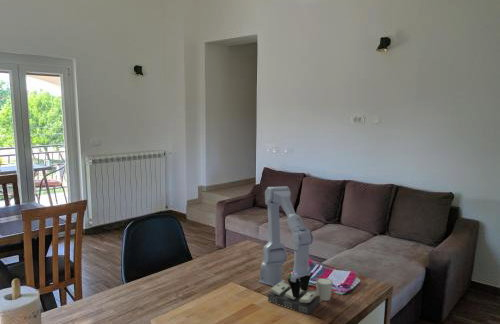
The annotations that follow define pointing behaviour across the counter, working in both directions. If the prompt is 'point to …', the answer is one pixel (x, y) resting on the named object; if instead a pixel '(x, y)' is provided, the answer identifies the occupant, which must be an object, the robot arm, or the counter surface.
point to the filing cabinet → (294, 301)
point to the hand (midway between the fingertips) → (299, 293)
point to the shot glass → (324, 288)
